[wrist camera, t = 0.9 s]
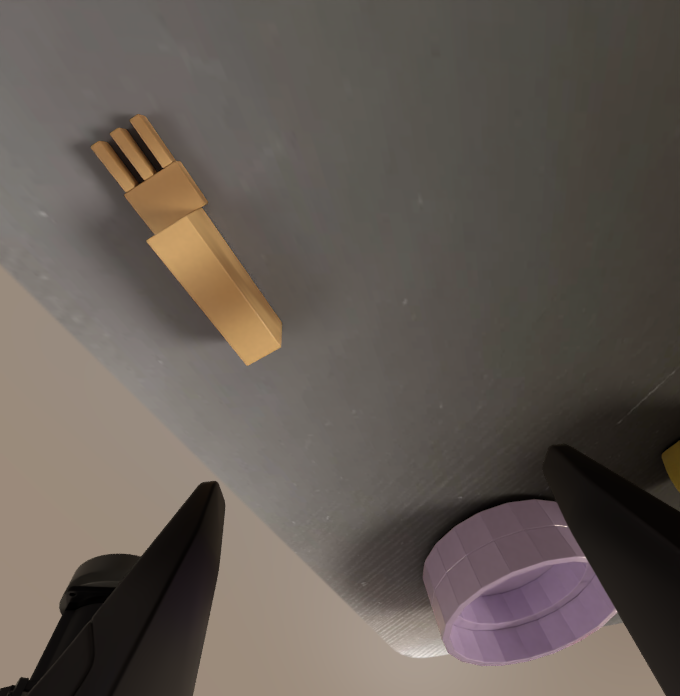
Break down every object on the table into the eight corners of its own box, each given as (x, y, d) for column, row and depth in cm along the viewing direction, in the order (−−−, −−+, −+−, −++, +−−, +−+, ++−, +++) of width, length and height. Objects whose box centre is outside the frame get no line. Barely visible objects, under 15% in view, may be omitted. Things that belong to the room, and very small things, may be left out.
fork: (288, 319, 20) (288, 343, 18) (246, 343, 20) (240, 370, 18) (148, 113, 15) (118, 103, 12) (95, 149, 15) (55, 146, 13)
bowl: (397, 596, 35) (414, 666, 30) (464, 484, 28) (500, 550, 24) (527, 601, 38) (561, 664, 33) (612, 502, 32) (669, 563, 27)
